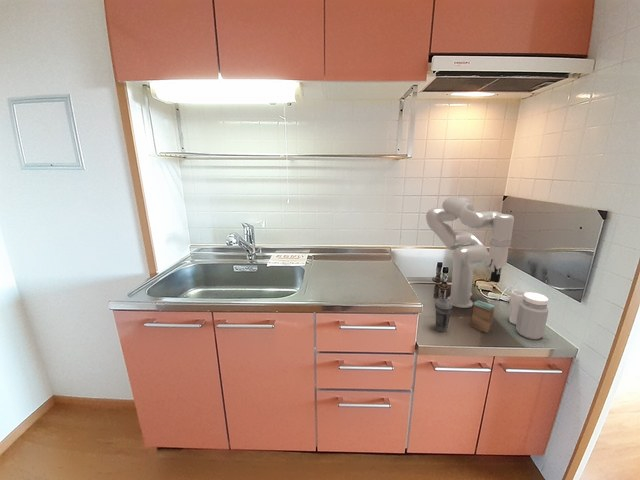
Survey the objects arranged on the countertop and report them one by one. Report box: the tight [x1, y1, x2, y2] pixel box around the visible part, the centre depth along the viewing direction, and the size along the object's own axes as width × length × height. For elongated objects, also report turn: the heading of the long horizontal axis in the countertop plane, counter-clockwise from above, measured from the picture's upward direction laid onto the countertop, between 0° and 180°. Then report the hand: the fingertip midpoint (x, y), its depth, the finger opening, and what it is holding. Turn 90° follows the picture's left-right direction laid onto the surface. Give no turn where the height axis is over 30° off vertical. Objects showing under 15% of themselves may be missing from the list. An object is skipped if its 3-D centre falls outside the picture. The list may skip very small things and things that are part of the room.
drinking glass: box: [508, 289, 527, 325], centre depth 127 cm, size 7×7×15 cm
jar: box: [515, 291, 549, 340], centre depth 117 cm, size 10×10×18 cm
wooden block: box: [470, 299, 495, 334], centre depth 123 cm, size 4×7×12 cm, turn 37°
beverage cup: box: [434, 289, 454, 333], centre depth 123 cm, size 7×7×20 cm
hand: (494, 281), depth 124 cm, fingers closed
